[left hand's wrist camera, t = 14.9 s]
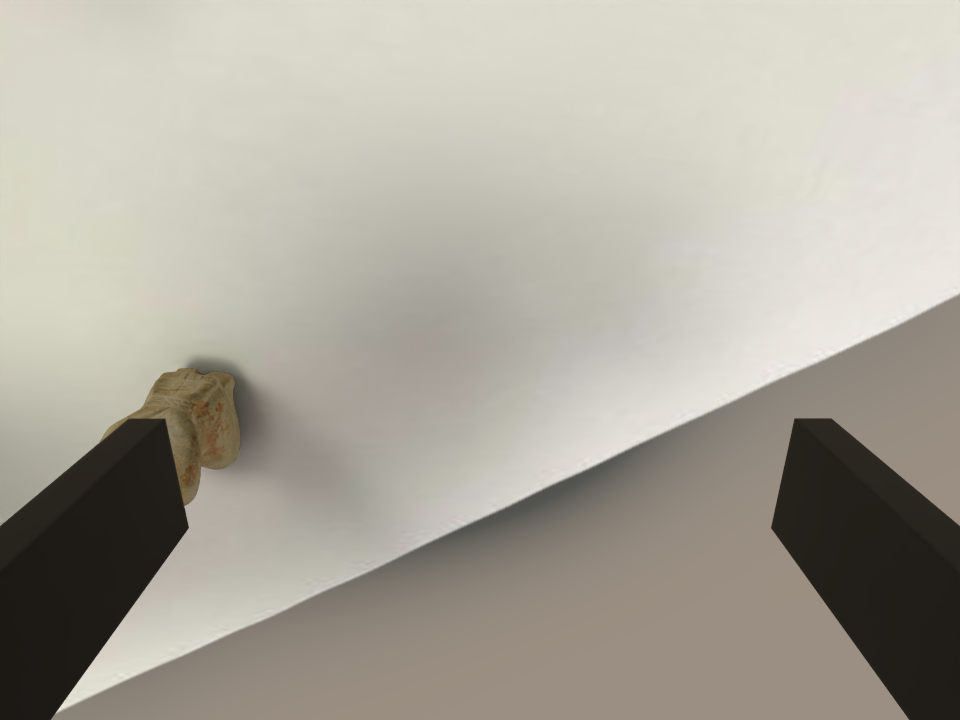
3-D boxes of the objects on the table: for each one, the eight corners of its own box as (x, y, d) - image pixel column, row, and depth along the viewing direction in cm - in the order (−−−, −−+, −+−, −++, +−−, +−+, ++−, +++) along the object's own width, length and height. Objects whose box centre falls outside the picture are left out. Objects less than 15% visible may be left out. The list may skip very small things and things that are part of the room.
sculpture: (167, 446, 41) (8, 610, 27) (166, 349, 39) (-10, 476, 25) (253, 459, 42) (138, 627, 28) (257, 364, 39) (134, 498, 25)
